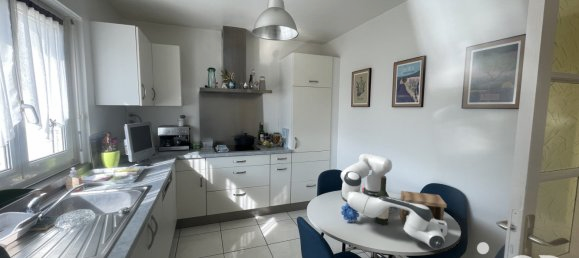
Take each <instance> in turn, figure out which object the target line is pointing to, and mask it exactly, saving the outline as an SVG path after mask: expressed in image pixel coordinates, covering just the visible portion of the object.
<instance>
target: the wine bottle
mask: <svg viewBox="0 0 579 258" xmlns="http://www.w3.org/2000/svg"><path fill="white" fill-rule="evenodd" d="M380 196H387V197H390V196H389V194H388V192H387V177H386V175H384V176H382V177H381V186H380V191H379V192H378V194H377V195H376V198H379V197H380ZM389 211H390V207H389V208H387V209H386V210H385V211H384V212H383V213H382V214H381V215H379V216H378V217H375V218H374V223H376V224H377V225H380V226H388V225H389V213H390V212H389Z"/></svg>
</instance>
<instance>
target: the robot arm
mask: <svg viewBox="0 0 579 258" xmlns="http://www.w3.org/2000/svg"><path fill="white" fill-rule="evenodd" d="M392 169H393V162H392V160H391V159H389V158H387V157H385V156H382V155H378V154H371V153H362V154H360V155H359V157H358V161H356V162H355V163H353V164H351V165H349V166H347V167H346V168H344V169H343V170H342V171H341V172H340V178H341V180H342V185H341V186H342V187H341V193H340V195H341V199H342V200H343V201H344V202H345V203H348V205H349V206H350V207H352V208H353V209H354V210H356V211H358V212H357V213H359V214H361V215H364V216H366V217H368V218H371V219H375V217H378V216H379V215H381V214H382V213H383V212H384V211H385V210H386V209H387V208H389V209H390V208H392V207H393V208H397V209H399V210H400V209H404V210H407V211H409V215H407V216H406V220H405V224H404V225H403V228H402V229H403V231H404V233H405V235H406V236H407V237H408V238H409V239H410V240H412V241H414V242H417V243H425V244H426V245H428V246H429V247H430V248H432V249H434V250H439V249H441V248H443V247H444V246H445V243H446V240H445V237H447V235H448V223H447V222H446V220H443V221H442V220H436V219H434V218H433V215H432V212H431V210H430V209H429V208H428V207H427V206H425V205H422V204H417V203H411V202H407V201H403V200H401V199H399V198H396V197H391V196H389V197H387V196H380V197H379V198H376V195H377V194H378V192H379V191H380V186H381V177H382V176H386V174H388V173H390V172H391V170H392ZM370 171H371V174H370ZM364 178H365V184H364V185H365V186H362V179H364ZM361 191H362V192H361Z"/></svg>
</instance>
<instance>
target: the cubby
mask: <svg viewBox="0 0 579 258" xmlns="http://www.w3.org/2000/svg"><path fill="white" fill-rule="evenodd" d="M400 200H403V201H407V202H411V203H417V204H422V205H425V206H427V207H428V208H429V209H430V210H431V212H432V215H433V218H434V219H436V220H442V221H444V215H445V214H444V213H445V209H447V205H448V204H447V203H446V202H445V200H443V198H442V197H441V196H440V195H439V194H434V193H425V192H415V191H405V190H401V191H400ZM399 217H400V220H401V222H402V223H401V224H404V225H405V222H406V220H405V217H406V210H404V209H400V208H399Z"/></svg>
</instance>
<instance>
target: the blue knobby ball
mask: <svg viewBox="0 0 579 258" xmlns="http://www.w3.org/2000/svg"><path fill="white" fill-rule="evenodd" d="M340 214H341V215H342V216H343V220H345V221H348V222H349V223H353V221H354V222H357V221H358V218H359V217H360V213H359V212H358V211H356V210H354V209H353V208H352V207H350V206H349V205H348V203H347V202H345V204H344V205H341V212H340Z"/></svg>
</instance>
